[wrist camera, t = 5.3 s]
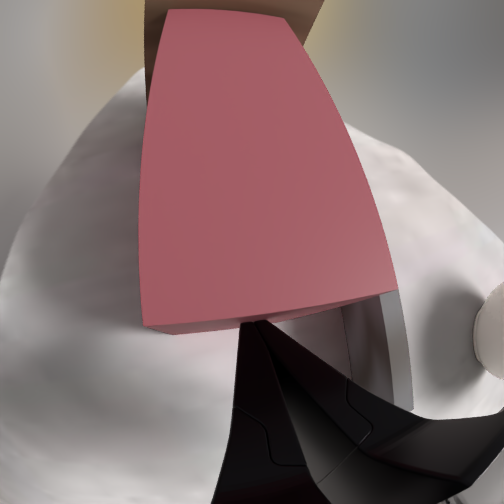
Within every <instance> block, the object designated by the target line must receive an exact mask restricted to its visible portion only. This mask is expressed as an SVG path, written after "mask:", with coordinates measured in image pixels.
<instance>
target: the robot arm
mask: <svg viewBox="0 0 504 504" xmlns="http://www.w3.org/2000/svg"><path fill="white" fill-rule="evenodd" d="M211 504H504V407H503V408H502V409H501V410H500V411H499V412H498V413H496V414H493V415H488V416H481V417H472V418H461V419H446V420H432V419H426V418H423V417H420V416H417V415H415V414H413V413H411V412H408V411H406V410H404V409H402V408H400V407H398V406H396V405H394V404H392V403H390V402H388V401H386V400H384V399H382V398H380V397H378V396H377V395H375V394H373V393H371V392H369V391H368V390H366V389H365V388H363V387H361V386H360V385H358V384H357V383H355V382H354V381H352V380H351V379H349V378H348V379H347V377H346V376H345V375H343V374H342V373H340V372H339V371H337V370H336V369H334V368H333V367H332V366H330V365H329V364H327V363H326V362H324V361H323V360H322V359H320V358H319V357H317V356H316V355H314V354H313V353H312V352H310V351H309V350H307V349H306V348H305V347H303V346H302V345H300V344H299V343H298V342H296V341H295V340H294V339H292V338H291V337H289V336H288V335H287V334H285V333H284V332H283V331H281V330H280V329H279V328H277V327H276V326H275V325H273V324H272V323H270V322H269V321H268V320H265V319H264V320H258V321H254V322H252V321H250V322H243V323H241V324H240V330H239V341H238V352H237V363H236V374H235V386H234V397H233V408H232V419H231V427H230V434H229V439H228V443H227V448H226V452H225V456H224V460H223V463H222V467H221V471H220V474H219V478H218V481H217V485H216V489H215V492H214V495H213V498H212V501H211Z"/></svg>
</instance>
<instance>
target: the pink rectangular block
mask: <svg viewBox="0 0 504 504" xmlns="http://www.w3.org/2000/svg"><path fill="white" fill-rule="evenodd" d="M138 248H139V278H140V295H141V309H142V320H143V326H144V327H148V328H151V329H154V330H158V331H161V332H164V333H168V334H172V335H178V334H189V333H199V332H209V331H218V330H226V329H234V328H240V324H241V323H243V322H250V321H252V322H254V321H258V320H264V319H265V320H268V321H269V322H270V323H276V322H281V321H285V320H290V319H294V318H298V317H302V316H306V315H310V314H314V313H318V312H322V311H326V310H330V309H333V308H337V307H341V306H344V305H348V304H351V303H355V302H358V301H362V300H365V299H368V298H372V297H375V296H378V295H381V294H385V293H388V292H391V291H394V290H397V289H398V285H397V280H396V276H395V272H394V267H393V263H392V259H391V255H390V251H389V248H388V244H387V240H386V237H385V233H384V230H383V227H382V223H381V220H380V217H379V214H378V210H377V207H376V204H375V201H374V198H373V195H372V192H371V190H370V187H369V184H368V181H367V179H366V176H365V173H364V171H363V168H362V165H361V163H360V160H359V158H358V155H357V153H356V150H355V148H354V146H353V143H352V141H351V139H350V136H349V134H348V132H347V129H346V127H345V125H344V123H343V121H342V119H341V116H340V114H339V112H338V110H337V108H336V106H335V104H334V102H333V100H332V98H331V96H330V94H329V92H328V90H327V88H326V87H325V85H324V83H323V81H322V79H321V77H320V75H319V74H318V72H317V70H316V68H315V66H314V65H313V63H312V61H311V59H310V58H309V56H308V54H307V53H306V51H305V49H304V48H303V46H302V45H301V43H300V41H299V40H298V38H297V37H296V35H295V34H294V32H293V31H292V29H291V28H290V26H289V25H288V23H287V22H286V20H285V19H284V18H280V17H275V16H269V15H263V14H256V13H248V12H240V11H229V10H215V9H169V10H168V13H167V16H166V20H165V24H164V27H163V31H162V35H161V39H160V43H159V48H158V52H157V56H156V61H155V66H154V71H153V76H152V82H151V87H150V93H149V99H148V106H147V113H146V120H145V128H144V137H143V147H142V158H141V171H140V188H139V218H138Z"/></svg>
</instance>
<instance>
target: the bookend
mask: <svg viewBox="0 0 504 504" xmlns="http://www.w3.org/2000/svg"><path fill="white" fill-rule="evenodd" d="M323 2H324V0H145V15H144V16H145V17H144V57H145V59H144V60H145V84H146V100H147V106H148V99H149V93H150V87H151V82H152V76H153V71H154V66H155V61H156V56H157V52H158V48H159V43H160V39H161V35H162V31H163V27H164V24H165V20H166V16H167V13H168V10H169V9H215V10H229V11H240V12H248V13H256V14H263V15H269V16H275V17H280V18H284V19H285V20H286V22H287V23H288V25H289V26H290V28H291V29H292V31H293V32H294V34H295V35H296V37H297V38H298V40H299V41H300V43H301V45H302V46H303V45H304V43H305V41H306V38H307V36H308V34H309V32H310V29H311V28H312V26H313V23H314V21H315V19H316V17H317V15H318V13H319V10H320V9H321V7H322V4H323ZM341 309H342V314H343V320H344V326H345V332H346V338H347V344H348V350H349V357H350V364H351V371H352V379H353V381H354V382H355V383H357V384H358V385H360V386H361V387H363V388H365V389H366V390H368V391H369V392H371V393H373V394H375V395H377V396H378V397H380V398H382V399H384V400H386V401H388V402H390V403H392V404H394V405H396V406H398V407H400V408H402V409H404V410H406V411H408V412H410V411H412V410H413V409H414V406H413V389H412V376H411V366H410V357H409V349H408V341H407V334H406V328H405V322H404V316H403V310H402V305H401V300H400V295H399V290H398V289H397V290H394V291H391V292H388V293H385V294H381V295H378V296H375V297H372V298H368V299H365V300H362V301H358V302H355V303H351V304H348V305H344V306H341Z"/></svg>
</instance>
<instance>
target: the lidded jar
mask: <svg viewBox="0 0 504 504" xmlns="http://www.w3.org/2000/svg"><path fill="white" fill-rule="evenodd" d="M473 347H474V352H475V355H476V358H477V360H478V361H479V362H480V363H482V364H483V366H484V367H485V368H486V370H487V371H488V372H489V373H490V374H492V375H493V376H495V377H497V378H499V379H502V380H504V282H503V283H501V284H500V285H498V286H497V287H496V288H495V289H494V290H493V291H492V292H491V293H490V295H489V296H488V297H487V299H486V301H485V302H484V304H483V306H482V308H481V309H480V310H479V311H478V313H477V315H476V318H475V322H474V328H473Z"/></svg>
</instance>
